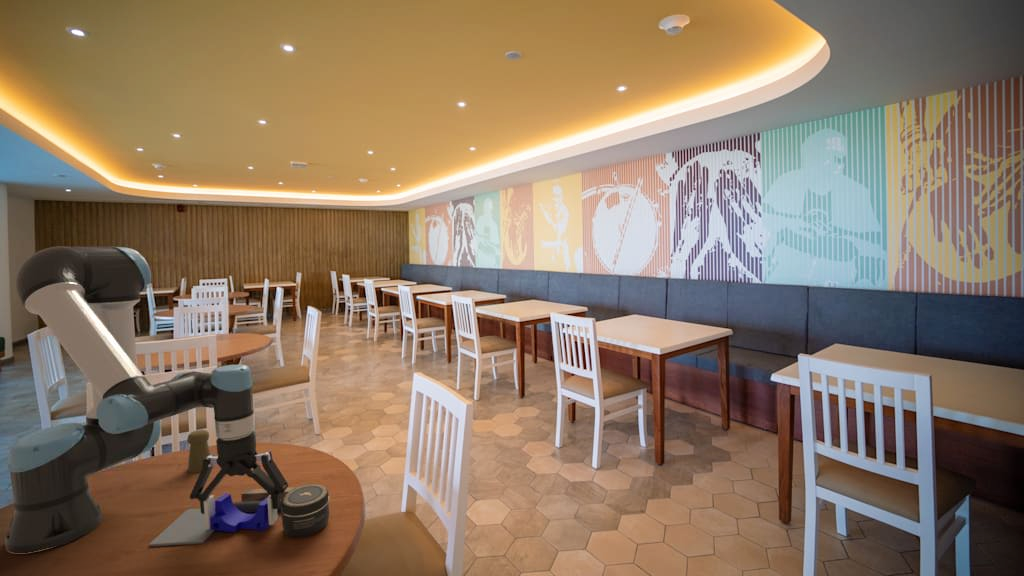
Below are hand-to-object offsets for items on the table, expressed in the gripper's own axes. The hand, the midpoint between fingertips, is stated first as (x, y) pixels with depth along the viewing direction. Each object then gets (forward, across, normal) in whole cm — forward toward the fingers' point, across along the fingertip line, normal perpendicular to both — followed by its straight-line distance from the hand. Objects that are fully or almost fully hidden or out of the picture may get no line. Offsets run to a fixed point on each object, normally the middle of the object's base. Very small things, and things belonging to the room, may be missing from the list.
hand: (242, 523), depth 101 cm
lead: (0, +2, +8) cm, 8 cm away
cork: (+1, -27, +31) cm, 41 cm away
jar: (+1, +14, -1) cm, 15 cm away
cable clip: (+1, 0, 0) cm, 1 cm away
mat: (+1, -11, +2) cm, 11 cm away
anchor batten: (+1, +2, +11) cm, 11 cm away
